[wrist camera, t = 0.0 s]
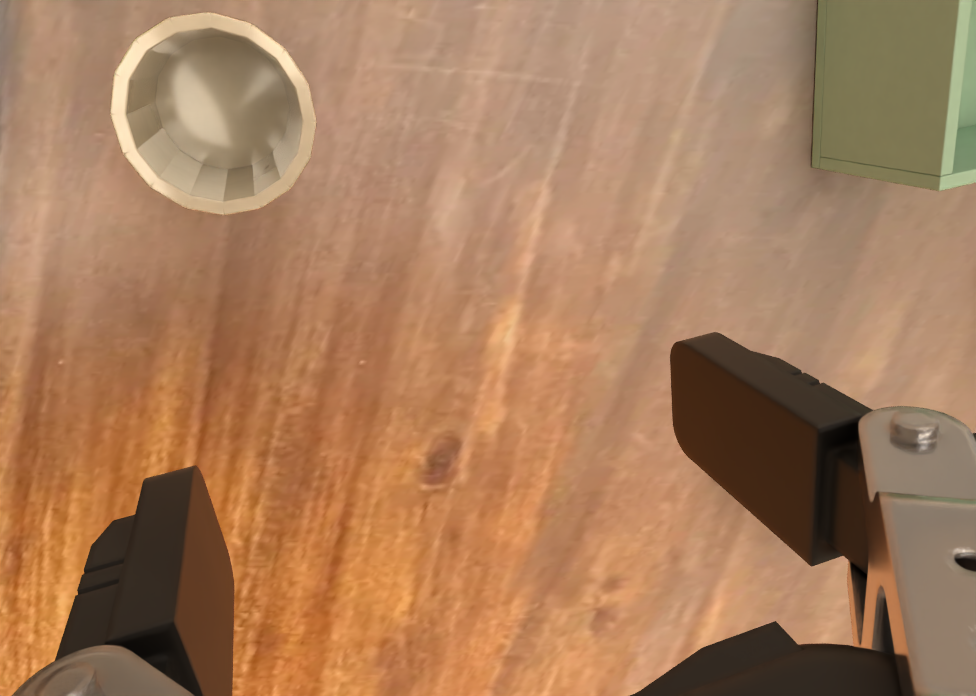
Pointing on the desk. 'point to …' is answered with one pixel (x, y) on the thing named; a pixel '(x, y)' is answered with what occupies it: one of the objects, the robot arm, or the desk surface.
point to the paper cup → (213, 113)
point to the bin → (897, 91)
